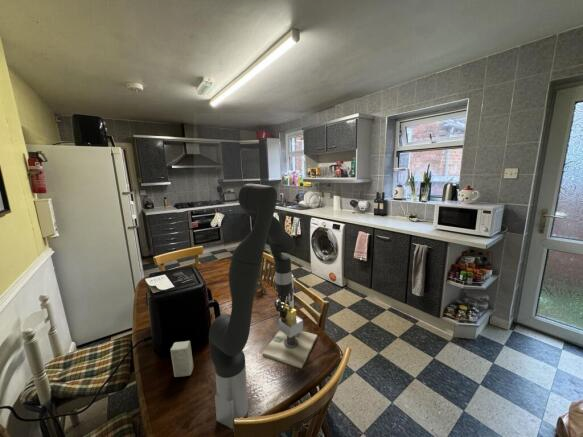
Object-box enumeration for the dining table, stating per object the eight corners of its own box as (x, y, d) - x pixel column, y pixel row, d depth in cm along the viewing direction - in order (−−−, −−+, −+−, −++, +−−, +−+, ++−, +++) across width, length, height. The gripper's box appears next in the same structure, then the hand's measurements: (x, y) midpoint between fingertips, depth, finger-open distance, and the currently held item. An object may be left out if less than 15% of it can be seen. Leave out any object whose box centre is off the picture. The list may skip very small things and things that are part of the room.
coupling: (303, 330, 104) (302, 309, 102) (290, 338, 99) (289, 316, 97) (287, 319, 112) (287, 300, 110) (274, 326, 107) (274, 306, 105)
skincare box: (193, 366, 95) (191, 340, 93) (190, 376, 90) (187, 348, 88) (177, 368, 94) (174, 341, 92) (173, 377, 90) (169, 349, 88)
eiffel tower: (249, 290, 158) (247, 255, 153) (264, 287, 162) (263, 252, 158) (253, 297, 148) (251, 260, 144) (269, 294, 152) (267, 257, 148)
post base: (301, 368, 93) (301, 343, 91) (262, 355, 100) (261, 331, 98) (317, 337, 111) (317, 315, 109) (283, 327, 118) (282, 307, 116)
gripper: (283, 289, 95) (285, 326, 99) (298, 274, 107) (299, 308, 111) (267, 285, 98) (269, 321, 102) (283, 272, 111) (285, 304, 114)
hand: (285, 314), depth 106 cm, fingers closed on coupling, 4 cm apart
